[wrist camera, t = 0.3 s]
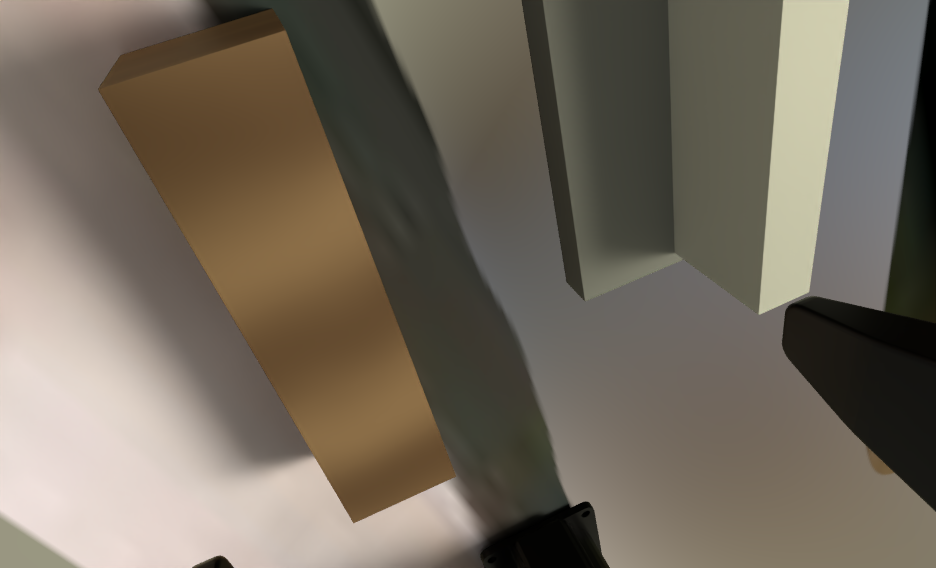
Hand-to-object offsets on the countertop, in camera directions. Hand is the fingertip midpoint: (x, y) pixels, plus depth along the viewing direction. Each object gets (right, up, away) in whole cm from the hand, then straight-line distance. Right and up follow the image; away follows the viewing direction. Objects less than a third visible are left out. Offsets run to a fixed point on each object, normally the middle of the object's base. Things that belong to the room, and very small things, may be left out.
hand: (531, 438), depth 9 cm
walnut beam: (-6, +3, +12) cm, 14 cm away
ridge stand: (+6, +9, +13) cm, 17 cm away
